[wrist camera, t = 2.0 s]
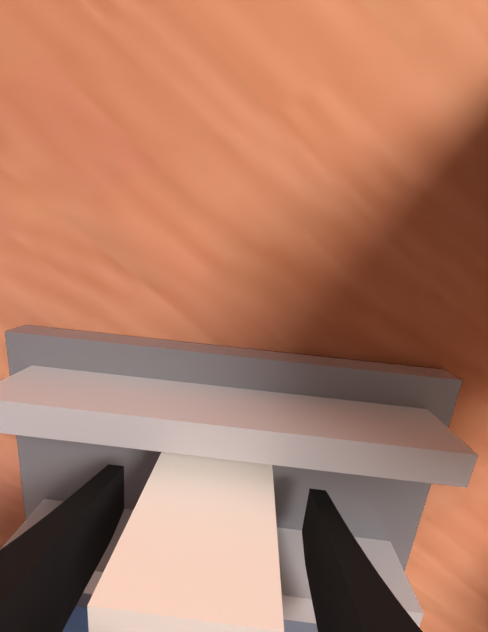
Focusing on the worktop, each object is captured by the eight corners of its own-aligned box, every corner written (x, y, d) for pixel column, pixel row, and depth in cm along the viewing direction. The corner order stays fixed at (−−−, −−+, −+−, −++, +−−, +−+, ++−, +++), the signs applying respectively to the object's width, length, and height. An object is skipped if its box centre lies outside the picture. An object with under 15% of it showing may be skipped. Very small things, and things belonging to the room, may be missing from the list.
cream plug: (171, 501, 12) (93, 728, 6) (175, 423, 11) (87, 605, 5) (259, 511, 12) (262, 752, 6) (270, 434, 11) (284, 631, 5)
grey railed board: (59, 686, 17) (-1, 818, 13) (25, 324, 12) (-95, 361, 8) (342, 726, 17) (369, 874, 13) (444, 369, 11) (548, 432, 7)
